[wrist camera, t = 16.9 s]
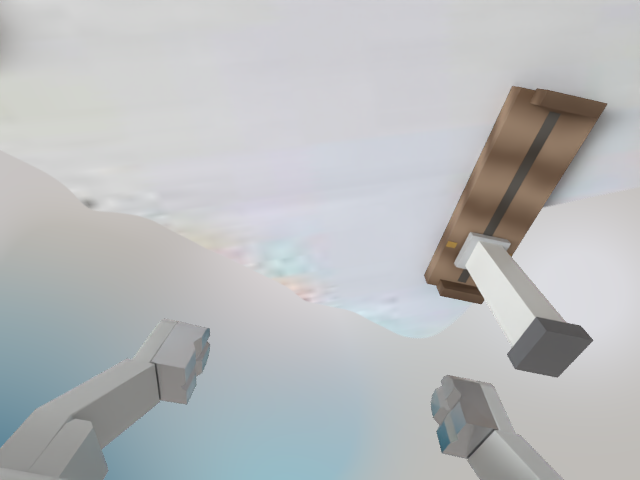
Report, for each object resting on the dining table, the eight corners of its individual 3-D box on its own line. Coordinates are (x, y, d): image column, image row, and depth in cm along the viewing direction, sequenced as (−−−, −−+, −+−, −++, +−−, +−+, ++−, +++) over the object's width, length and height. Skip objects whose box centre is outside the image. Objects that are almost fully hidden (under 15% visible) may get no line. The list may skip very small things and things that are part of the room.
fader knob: (470, 231, 39) (540, 329, 25) (507, 239, 39) (599, 341, 25) (453, 262, 42) (509, 368, 27) (489, 270, 42) (562, 378, 27)
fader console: (513, 84, 32) (533, 86, 29) (593, 102, 33) (622, 106, 29) (423, 276, 46) (429, 293, 42) (481, 288, 46) (491, 306, 43)
